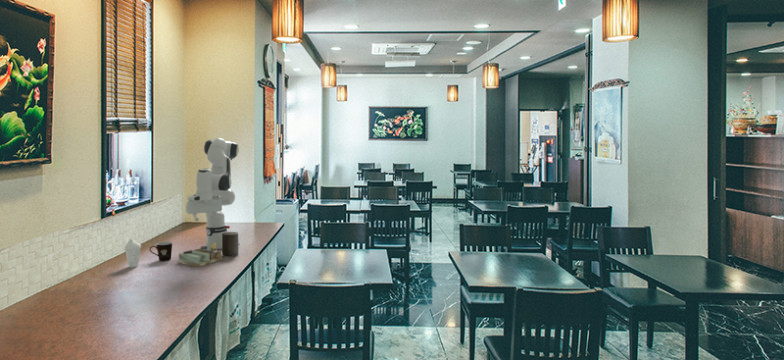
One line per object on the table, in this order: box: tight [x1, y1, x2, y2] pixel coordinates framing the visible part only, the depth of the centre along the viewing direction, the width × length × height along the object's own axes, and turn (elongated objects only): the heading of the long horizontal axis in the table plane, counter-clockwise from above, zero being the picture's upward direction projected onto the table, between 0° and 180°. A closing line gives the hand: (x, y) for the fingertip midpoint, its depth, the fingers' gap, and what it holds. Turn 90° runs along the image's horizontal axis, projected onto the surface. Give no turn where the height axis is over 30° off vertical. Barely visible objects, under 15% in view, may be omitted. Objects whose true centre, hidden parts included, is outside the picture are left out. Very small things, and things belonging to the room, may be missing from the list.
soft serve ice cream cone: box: [123, 238, 142, 268], centre depth 262 cm, size 8×8×16 cm
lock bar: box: [200, 243, 218, 253], centre depth 276 cm, size 12×4×5 cm, turn 58°
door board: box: [178, 247, 222, 268], centre depth 274 cm, size 17×16×7 cm
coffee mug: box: [149, 241, 173, 262], centre depth 277 cm, size 12×9×10 cm
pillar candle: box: [221, 231, 239, 258], centre depth 289 cm, size 10×10×15 cm
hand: (204, 220), depth 271 cm, fingers open, 8 cm apart
